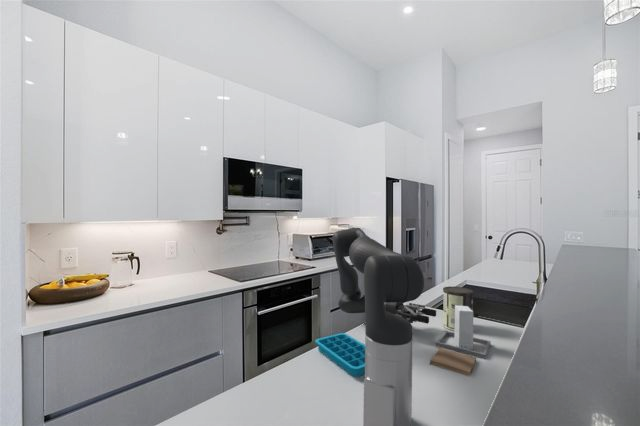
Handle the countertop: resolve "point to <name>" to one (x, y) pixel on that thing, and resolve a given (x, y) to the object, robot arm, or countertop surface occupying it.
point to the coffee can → (455, 303)
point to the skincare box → (463, 327)
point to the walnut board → (453, 361)
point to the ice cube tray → (344, 352)
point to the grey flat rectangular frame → (462, 350)
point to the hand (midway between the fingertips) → (432, 316)
